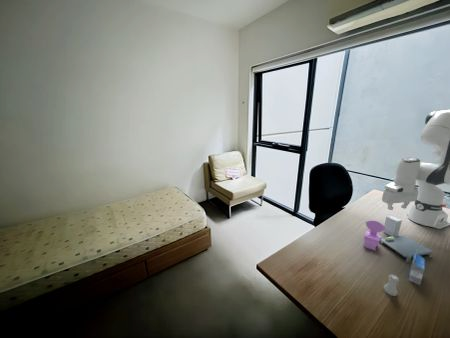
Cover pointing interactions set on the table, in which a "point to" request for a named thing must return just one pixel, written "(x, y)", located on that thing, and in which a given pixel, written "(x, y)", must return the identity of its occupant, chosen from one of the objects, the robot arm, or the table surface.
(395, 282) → the rook chess piece
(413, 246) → the levelling deck
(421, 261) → the label tape box
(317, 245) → the table surface
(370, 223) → the toy chair
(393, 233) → the skincare box
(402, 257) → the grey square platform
